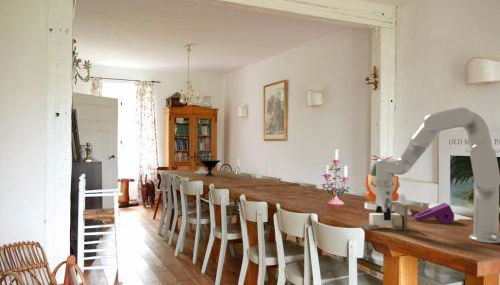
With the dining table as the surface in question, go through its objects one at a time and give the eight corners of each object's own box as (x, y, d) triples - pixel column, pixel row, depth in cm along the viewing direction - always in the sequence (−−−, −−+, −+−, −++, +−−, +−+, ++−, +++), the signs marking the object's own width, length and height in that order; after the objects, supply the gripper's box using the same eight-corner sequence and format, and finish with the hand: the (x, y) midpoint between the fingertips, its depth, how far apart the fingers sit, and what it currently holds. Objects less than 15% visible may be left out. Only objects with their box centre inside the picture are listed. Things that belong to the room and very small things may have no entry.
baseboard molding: (453, 221, 217) (474, 221, 218) (453, 216, 217) (474, 216, 218) (423, 211, 248) (441, 211, 249) (424, 207, 248) (441, 207, 249)
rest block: (378, 229, 190) (378, 225, 190) (368, 229, 189) (368, 225, 189) (372, 226, 198) (372, 222, 198) (362, 226, 197) (362, 222, 197)
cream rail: (396, 223, 197) (396, 213, 197) (400, 225, 192) (400, 214, 192) (369, 222, 196) (369, 213, 196) (372, 225, 191) (373, 214, 191)
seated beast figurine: (412, 215, 230) (412, 195, 230) (396, 214, 232) (396, 194, 233) (409, 213, 239) (410, 193, 239) (395, 212, 242) (395, 192, 242)
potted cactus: (400, 211, 243) (401, 155, 243) (363, 209, 250) (364, 154, 250) (398, 206, 263) (399, 155, 264) (364, 204, 270) (364, 154, 270)
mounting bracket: (423, 233, 211) (456, 220, 208) (415, 218, 212) (449, 205, 209) (419, 229, 221) (451, 217, 217) (412, 215, 222) (444, 202, 218)
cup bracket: (407, 230, 189) (407, 205, 189) (393, 230, 189) (394, 205, 189) (397, 225, 200) (397, 202, 200) (384, 225, 200) (384, 202, 200)
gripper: (398, 185, 186) (398, 221, 186) (383, 182, 203) (383, 215, 203) (383, 185, 185) (382, 221, 185) (369, 182, 202) (369, 215, 202)
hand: (383, 218), depth 194 cm, fingers open, 9 cm apart
